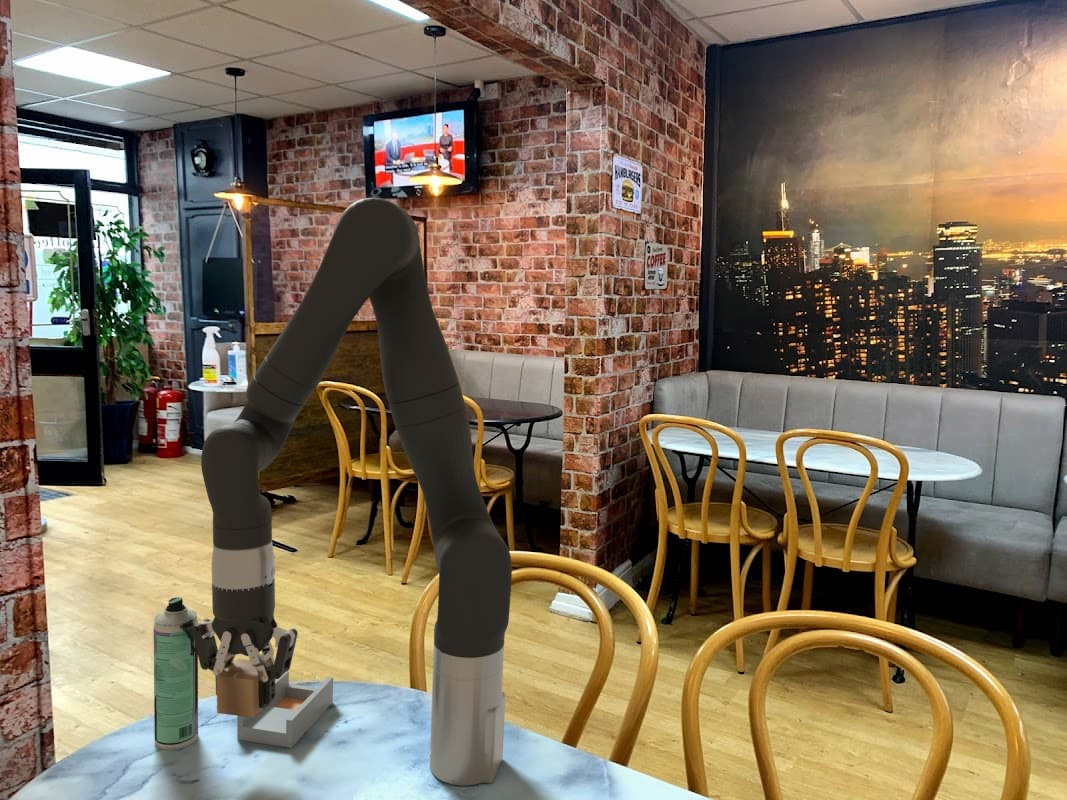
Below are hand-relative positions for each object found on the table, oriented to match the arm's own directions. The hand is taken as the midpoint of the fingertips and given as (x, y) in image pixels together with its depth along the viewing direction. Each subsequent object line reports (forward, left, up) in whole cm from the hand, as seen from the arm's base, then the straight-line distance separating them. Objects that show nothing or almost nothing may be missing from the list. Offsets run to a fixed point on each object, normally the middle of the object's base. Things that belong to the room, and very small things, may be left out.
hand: (246, 702), depth 102 cm
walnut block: (0, -2, +2) cm, 3 cm away
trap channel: (0, -11, -9) cm, 14 cm away
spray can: (+12, -3, -9) cm, 15 cm away
